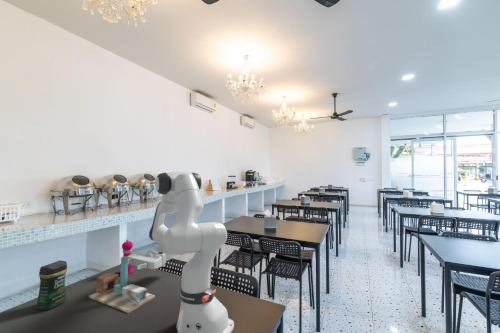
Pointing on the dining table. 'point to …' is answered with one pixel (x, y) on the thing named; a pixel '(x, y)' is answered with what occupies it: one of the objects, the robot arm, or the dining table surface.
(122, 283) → the tube
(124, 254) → the pepper mill
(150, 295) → the tube fixture
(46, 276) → the coffee jar
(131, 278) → the dining table surface
